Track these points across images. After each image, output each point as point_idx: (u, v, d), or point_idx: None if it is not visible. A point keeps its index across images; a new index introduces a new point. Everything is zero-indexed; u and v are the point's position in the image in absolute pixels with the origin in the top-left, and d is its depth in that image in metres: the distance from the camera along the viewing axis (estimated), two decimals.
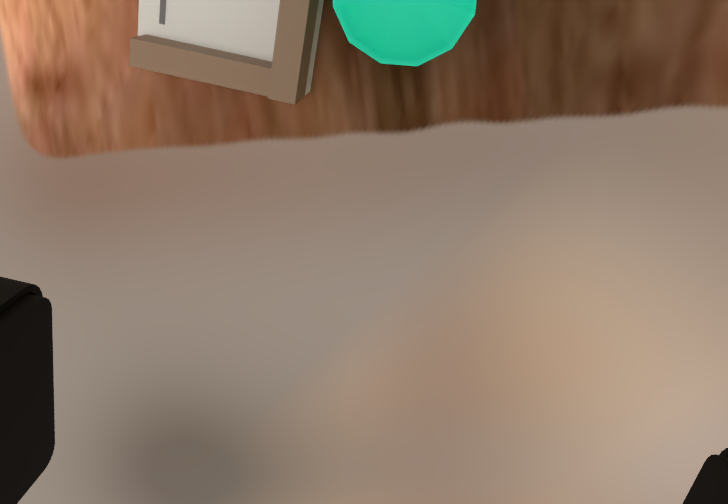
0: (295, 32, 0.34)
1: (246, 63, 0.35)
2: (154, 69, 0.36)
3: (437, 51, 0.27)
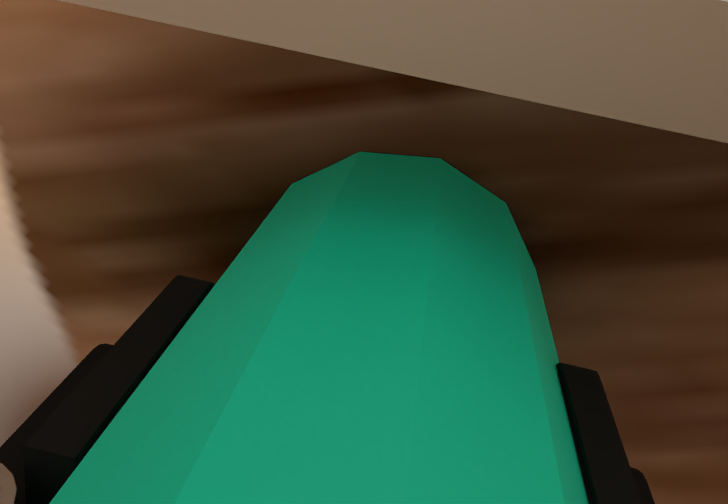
0: None
1: None
2: None
3: None
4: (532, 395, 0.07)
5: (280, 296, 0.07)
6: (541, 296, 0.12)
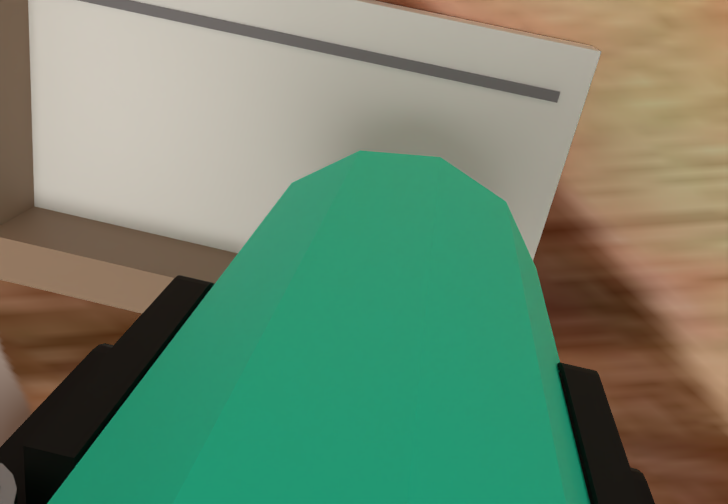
0: (53, 278, 0.20)
1: None
2: None
3: None
4: (534, 395, 0.07)
5: (280, 295, 0.07)
6: (542, 295, 0.12)
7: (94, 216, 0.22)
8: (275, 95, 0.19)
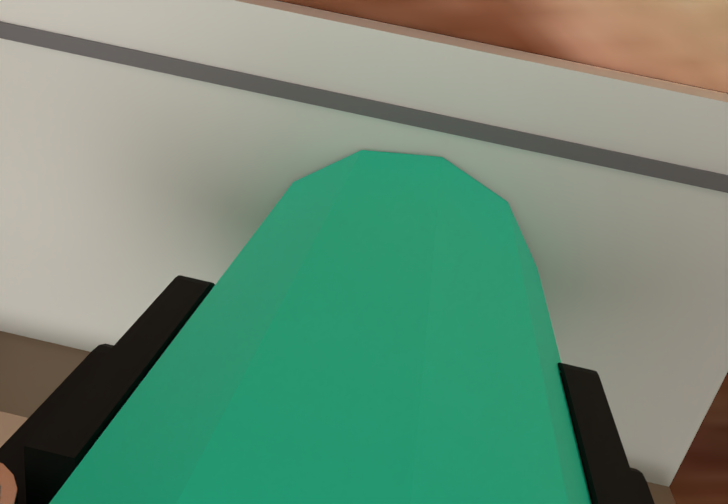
0: None
1: None
2: None
3: None
4: (536, 397, 0.07)
5: (282, 294, 0.07)
6: (543, 296, 0.12)
7: (70, 342, 0.16)
8: None
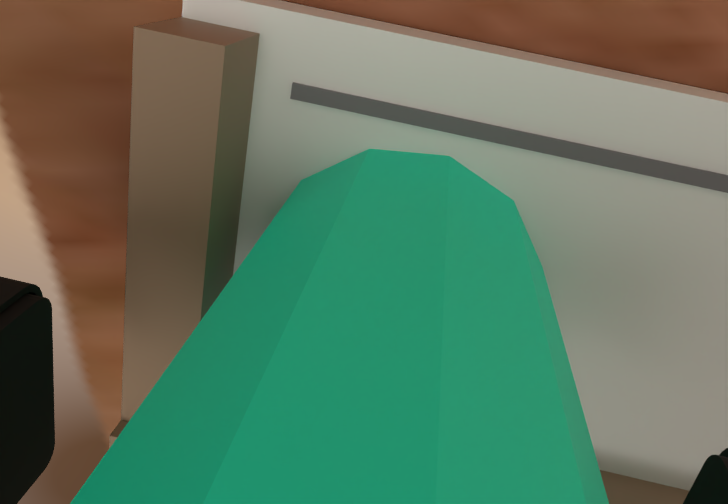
0: None
1: None
2: (136, 117, 0.11)
3: None
4: (549, 390, 0.07)
5: (299, 290, 0.07)
6: (548, 293, 0.12)
7: None
8: (625, 247, 0.13)
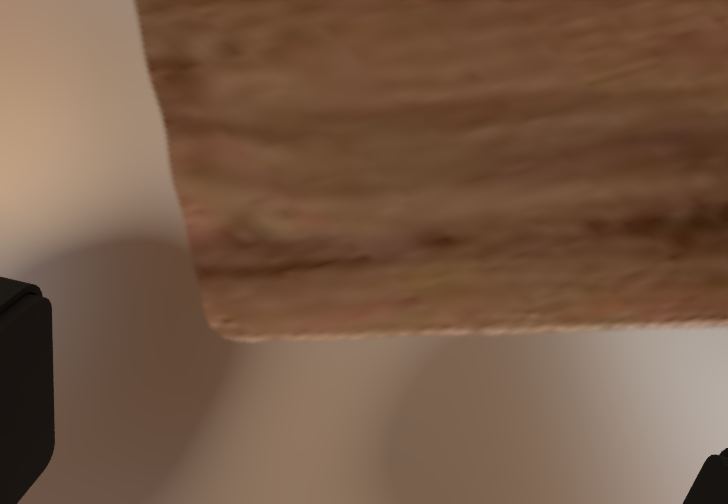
0: None
1: None
2: None
3: None
4: None
5: None
6: None
7: None
8: None
